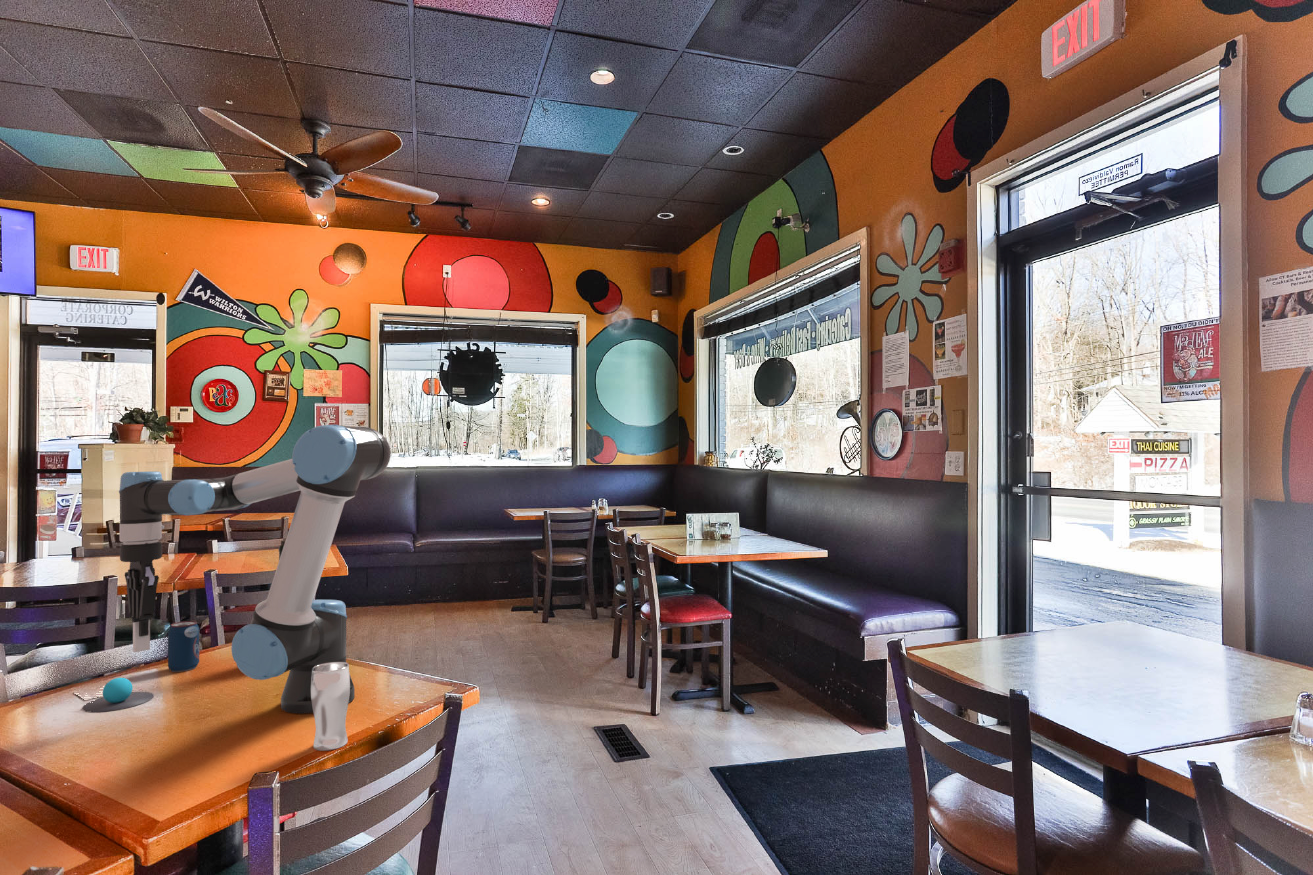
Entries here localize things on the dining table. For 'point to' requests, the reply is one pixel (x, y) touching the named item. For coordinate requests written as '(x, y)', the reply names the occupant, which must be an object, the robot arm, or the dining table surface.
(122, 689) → the ball
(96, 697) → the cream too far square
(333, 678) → the beer glass
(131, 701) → the grey flat disc
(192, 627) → the soda can
